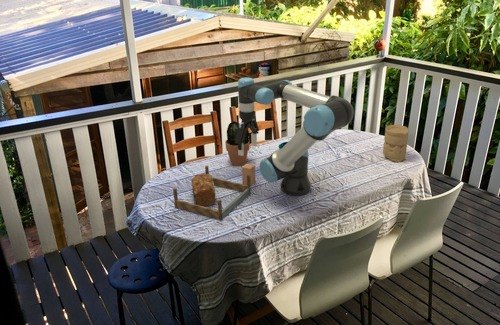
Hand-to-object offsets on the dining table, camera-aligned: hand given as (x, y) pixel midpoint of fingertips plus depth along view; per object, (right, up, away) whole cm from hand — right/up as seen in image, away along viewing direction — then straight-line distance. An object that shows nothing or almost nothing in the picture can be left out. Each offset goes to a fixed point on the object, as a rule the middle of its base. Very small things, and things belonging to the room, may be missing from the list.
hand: (247, 150), depth 227 cm
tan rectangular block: (+1, -17, +8) cm, 19 cm away
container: (+84, -4, +32) cm, 90 cm away
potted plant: (-6, -6, +32) cm, 33 cm away
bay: (-16, -25, -7) cm, 30 cm away
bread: (-22, -24, -4) cm, 32 cm away
